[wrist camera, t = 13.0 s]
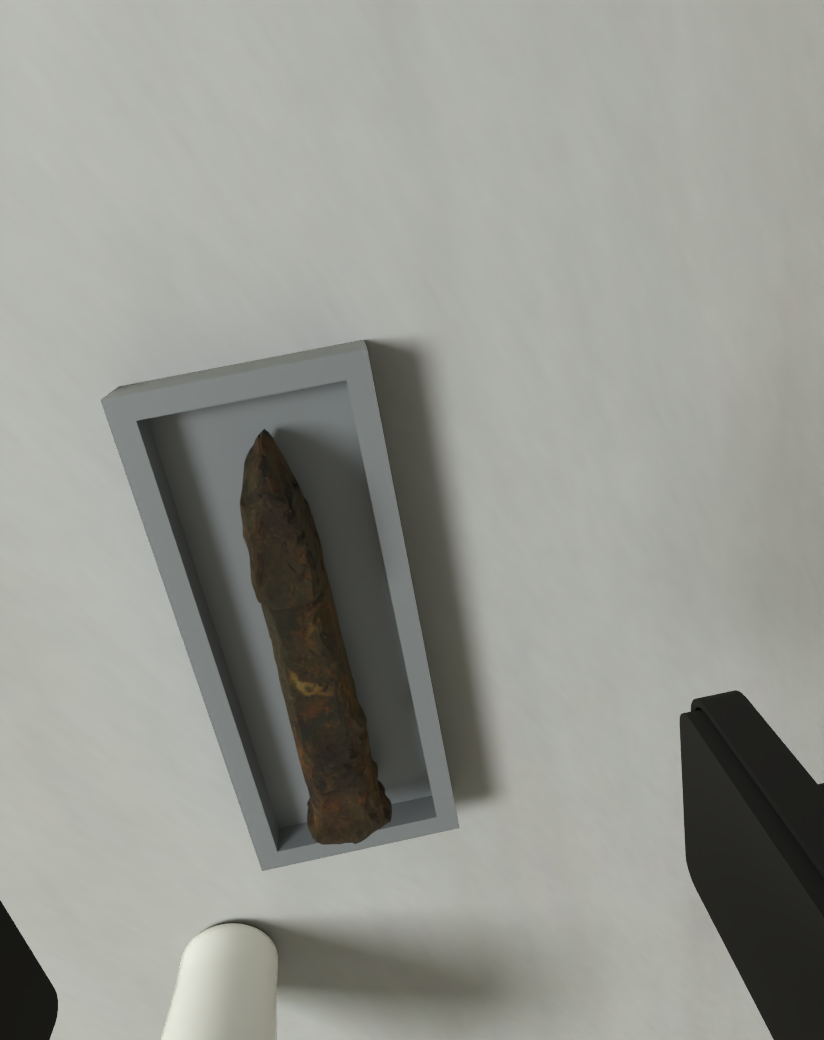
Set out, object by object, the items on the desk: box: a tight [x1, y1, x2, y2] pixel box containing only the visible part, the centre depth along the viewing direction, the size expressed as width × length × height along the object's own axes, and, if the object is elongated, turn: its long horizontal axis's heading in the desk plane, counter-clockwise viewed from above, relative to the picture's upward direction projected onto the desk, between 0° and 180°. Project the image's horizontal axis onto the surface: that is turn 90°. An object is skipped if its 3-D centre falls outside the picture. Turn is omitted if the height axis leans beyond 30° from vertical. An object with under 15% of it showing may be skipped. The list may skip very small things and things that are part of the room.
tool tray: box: [101, 340, 459, 871], centre depth 32 cm, size 10×24×2 cm, turn 10°
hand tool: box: [240, 429, 392, 845], centre depth 30 cm, size 19×4×5 cm, turn 6°
